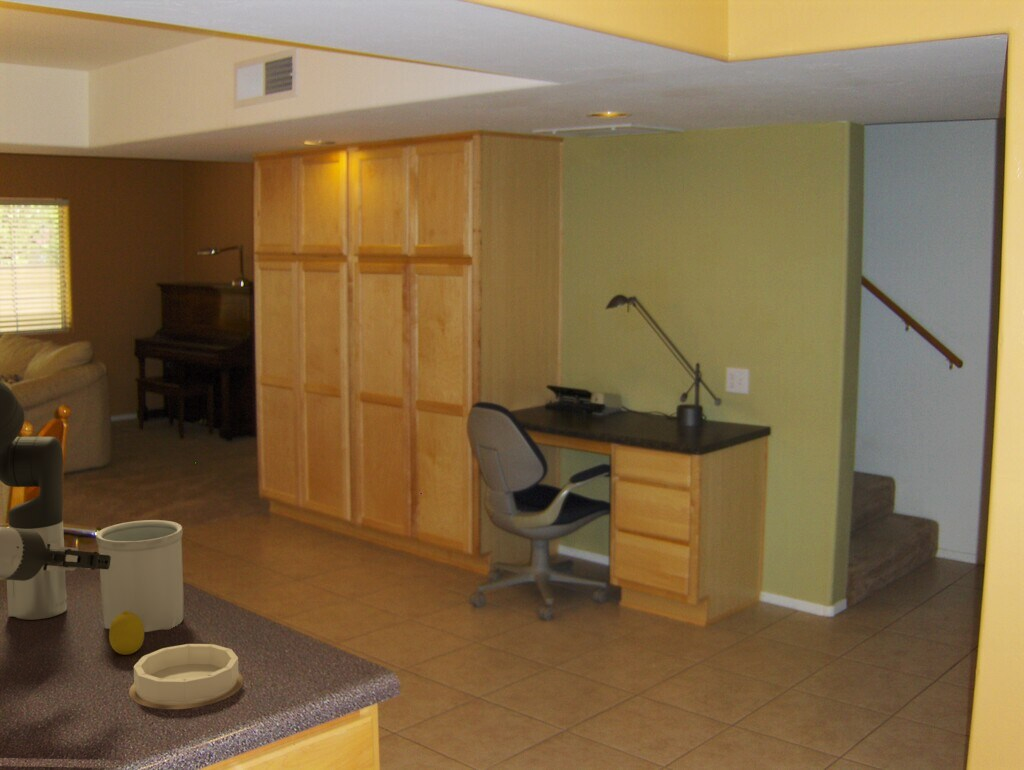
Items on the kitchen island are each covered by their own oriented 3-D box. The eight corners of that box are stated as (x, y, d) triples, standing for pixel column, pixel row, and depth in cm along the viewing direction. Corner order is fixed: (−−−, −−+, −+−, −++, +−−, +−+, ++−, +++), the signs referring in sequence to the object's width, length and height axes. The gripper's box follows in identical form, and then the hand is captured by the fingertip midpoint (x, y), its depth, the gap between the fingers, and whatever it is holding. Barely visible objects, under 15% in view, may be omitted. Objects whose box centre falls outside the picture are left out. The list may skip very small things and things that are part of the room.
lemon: (133, 664, 176) (132, 618, 175) (103, 661, 177) (101, 615, 176) (151, 652, 182) (149, 606, 181) (121, 649, 183) (120, 604, 182)
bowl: (121, 705, 159) (120, 680, 159) (155, 665, 174) (154, 643, 173) (222, 706, 159) (221, 682, 159) (247, 667, 174) (246, 644, 173)
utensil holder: (83, 635, 189) (79, 539, 187) (123, 607, 204) (120, 517, 201) (163, 640, 187) (160, 543, 185) (198, 611, 202) (195, 521, 200)
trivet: (112, 713, 158) (112, 708, 158) (151, 668, 175) (151, 663, 175) (227, 715, 158) (227, 709, 158) (255, 669, 175) (255, 664, 175)
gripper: (41, 528, 154) (125, 539, 168) (-27, 526, 160) (60, 536, 174) (32, 581, 152) (118, 587, 167) (-35, 576, 159) (53, 583, 173)
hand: (88, 561), depth 171 cm, fingers open, 8 cm apart
